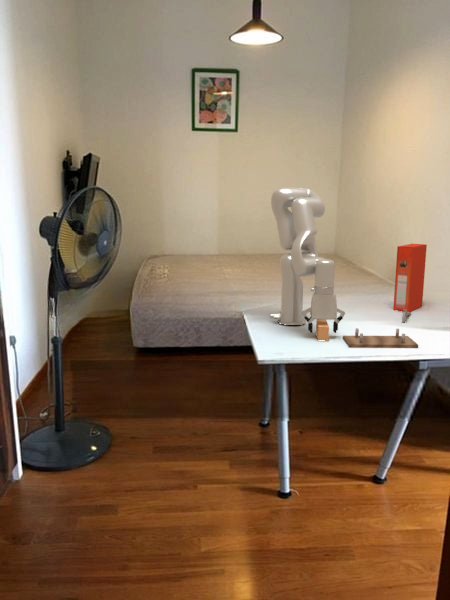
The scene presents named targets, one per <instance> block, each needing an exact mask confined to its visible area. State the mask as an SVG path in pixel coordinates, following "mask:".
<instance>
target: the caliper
mask: <svg viewBox="0 0 450 600" xmlns="http://www.w3.org/2000/svg"><path fill="white" fill-rule="evenodd" d="M411 315H412V311H410V312H406V309H403V312H402V316H401V323H402V322H403V324H404V323H405V322H406V318H407V317H408V316H411Z"/></svg>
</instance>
